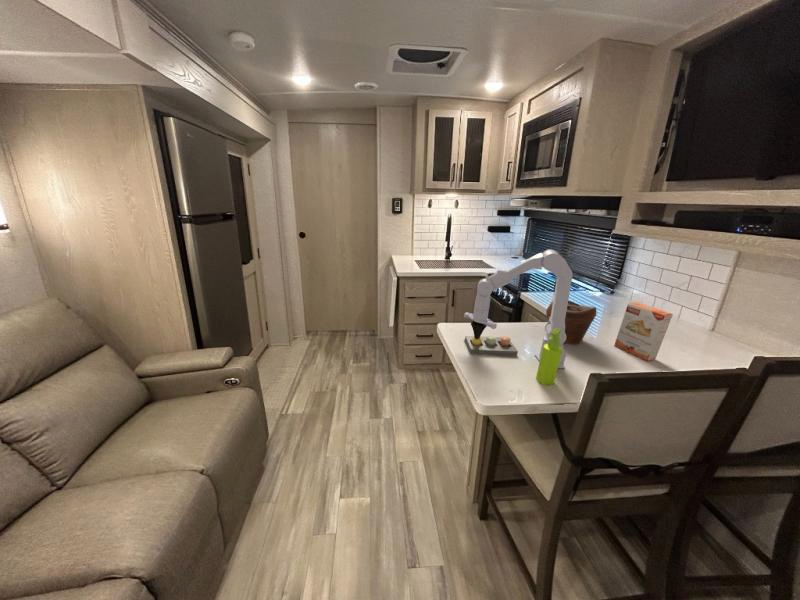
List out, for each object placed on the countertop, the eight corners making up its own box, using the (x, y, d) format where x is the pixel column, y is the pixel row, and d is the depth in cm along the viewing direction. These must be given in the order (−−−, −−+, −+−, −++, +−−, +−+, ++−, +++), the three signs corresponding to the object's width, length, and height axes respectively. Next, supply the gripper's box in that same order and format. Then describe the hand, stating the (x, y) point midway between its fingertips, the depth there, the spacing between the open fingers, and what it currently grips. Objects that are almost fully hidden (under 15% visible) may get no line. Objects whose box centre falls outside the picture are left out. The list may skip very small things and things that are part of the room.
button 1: (482, 347, 126) (483, 340, 125) (472, 346, 126) (473, 340, 125) (479, 342, 130) (480, 336, 129) (470, 342, 130) (471, 335, 129)
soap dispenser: (532, 380, 107) (543, 329, 100) (539, 373, 111) (551, 324, 104) (549, 388, 103) (562, 336, 96) (556, 380, 107) (569, 330, 101)
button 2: (510, 347, 126) (511, 341, 125) (501, 347, 126) (502, 340, 125) (507, 342, 130) (508, 336, 129) (498, 342, 130) (499, 336, 129)
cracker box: (613, 346, 135) (627, 302, 128) (621, 344, 138) (636, 301, 130) (647, 362, 123) (664, 314, 116) (656, 359, 125) (673, 313, 118)
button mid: (496, 346, 126) (497, 340, 125) (486, 346, 126) (487, 340, 125) (493, 342, 130) (494, 336, 129) (484, 341, 130) (485, 335, 129)
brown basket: (539, 325, 152) (547, 292, 146) (584, 333, 146) (594, 299, 140) (543, 341, 137) (552, 305, 130) (592, 351, 131) (604, 313, 124)
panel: (517, 355, 123) (517, 351, 122) (470, 353, 123) (471, 349, 122) (507, 341, 134) (508, 337, 134) (464, 340, 134) (465, 335, 133)
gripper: (502, 311, 120) (497, 342, 124) (472, 301, 130) (468, 329, 135) (493, 315, 115) (487, 347, 120) (462, 304, 125) (458, 333, 130)
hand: (477, 338), depth 127 cm, fingers closed, pressing on button 1
